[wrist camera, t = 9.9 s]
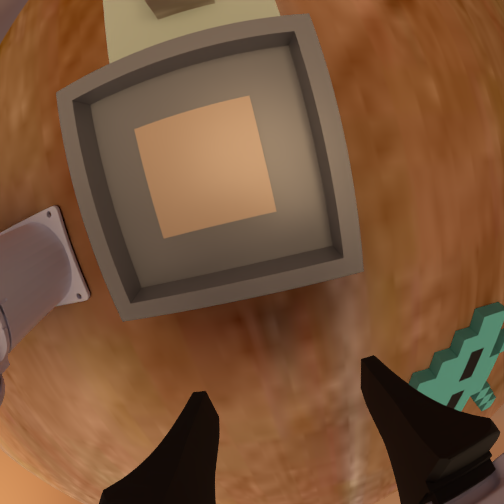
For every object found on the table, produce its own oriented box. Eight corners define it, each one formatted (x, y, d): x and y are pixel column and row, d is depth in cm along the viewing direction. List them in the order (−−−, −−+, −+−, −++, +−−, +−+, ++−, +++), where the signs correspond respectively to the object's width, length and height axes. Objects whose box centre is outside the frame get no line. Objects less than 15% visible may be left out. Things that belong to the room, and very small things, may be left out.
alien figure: (530, 288, 22) (426, 317, 22) (541, 295, 20) (438, 330, 20) (484, 398, 29) (382, 438, 29) (490, 406, 27) (387, 450, 27)
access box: (137, 299, 20) (122, 321, 17) (80, 98, 15) (56, 92, 12) (347, 254, 20) (363, 271, 17) (299, 33, 14) (309, 13, 11)
